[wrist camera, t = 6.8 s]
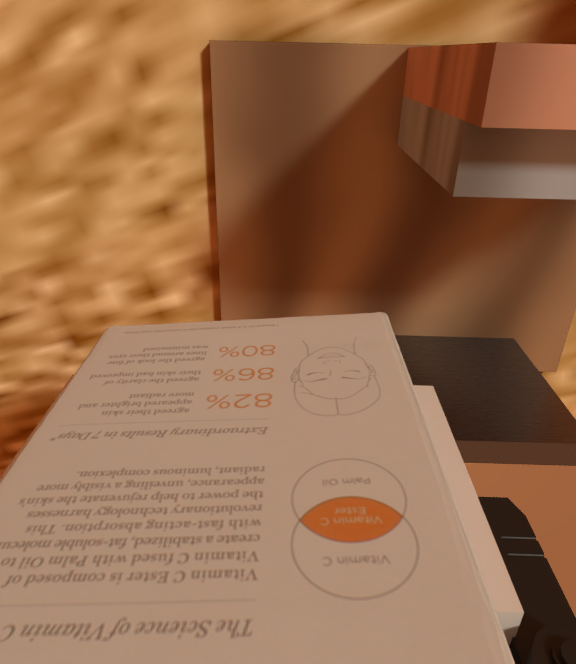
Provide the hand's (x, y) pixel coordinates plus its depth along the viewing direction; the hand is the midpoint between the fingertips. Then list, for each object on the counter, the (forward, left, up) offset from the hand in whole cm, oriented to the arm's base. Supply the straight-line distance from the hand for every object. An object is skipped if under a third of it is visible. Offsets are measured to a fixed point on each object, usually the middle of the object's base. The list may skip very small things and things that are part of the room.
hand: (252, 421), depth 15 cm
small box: (0, 0, -1) cm, 1 cm away
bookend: (+10, -7, -15) cm, 20 cm away
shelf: (+7, +1, -16) cm, 17 cm away
